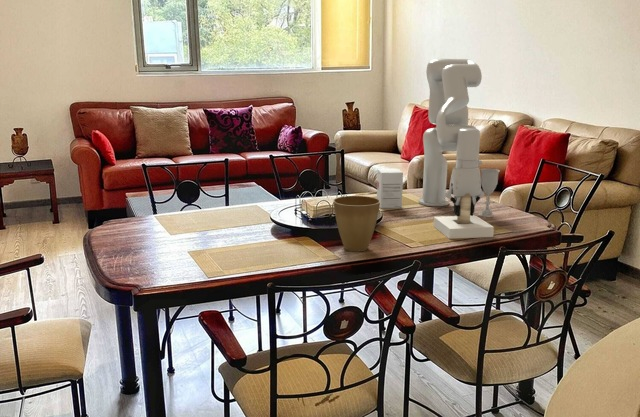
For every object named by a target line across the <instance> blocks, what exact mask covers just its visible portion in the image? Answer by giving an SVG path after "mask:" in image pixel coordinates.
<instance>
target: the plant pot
mask: <svg viewBox="0 0 640 417" xmlns="http://www.w3.org/2000/svg"><path fill="white" fill-rule="evenodd" d="M332 202H333V208H334V209H333V210H334V214H335V220H336V224H337V229H338V233H339V236H340V239H341V242H342V245H343V247H344V250H346V251H350V252H365V251H366V250H368V248H369V245H370V242H371V240H372V238H373V235H374V232H375V228H376V225H377V221H378V216H379V211H380V207H379V206H380V200H379V199H377V197H372V196H365V195H343V196H339V197H336V198H333V200H332Z"/></svg>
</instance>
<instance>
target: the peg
mask: <svg viewBox="0 0 640 417" xmlns="http://www.w3.org/2000/svg"><path fill="white" fill-rule="evenodd" d="M459 205H460V216H457V224H470V216H471V215H470V211H471V196H470V194H469V193H466V194H465V196H463V197H461V198H460V202H459Z"/></svg>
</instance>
